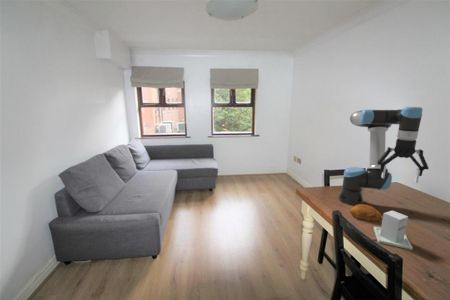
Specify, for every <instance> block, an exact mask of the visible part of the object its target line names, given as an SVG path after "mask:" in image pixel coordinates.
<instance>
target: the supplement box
mask: <svg viewBox="0 0 450 300" xmlns="http://www.w3.org/2000/svg"><path fill="white" fill-rule="evenodd" d="M408 220H409V216H408V215H405V214H403V213H401V212H397V211H395V210H390V211H386V212H383V215H382V221H381V227H380V228H381V231H380V236H382V237H384V238H386V239H388V240H390V241H392V242H394V243H396V242H398V241H401V240H404V236H405V235H406V230H407V225H408Z"/></svg>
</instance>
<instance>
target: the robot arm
mask: <svg viewBox="0 0 450 300" xmlns="http://www.w3.org/2000/svg"><path fill="white" fill-rule="evenodd" d="M422 116H423V107H421V106H404V107H402V108H401V109H362V110H358V111H354V112H353V113H352V114H351V115H350V118H349V121H350V123H352V124H353V125H354V126H356V127H360V128H367V131H368V132H369V165H368V167H366V169H364V168H362V167H358V166H353V167H352V166H351V167H350V166H349V167H347V168H346V169H344V171H343V178H342V188H341V190H340V192H339V194H338V198H339V199H340V200H341V201H340V200H339V199H338V200H339V201H340V202H341V203H344V204H346V203H347V205H350V204H351V206H355V205H358V204H364V196H363V192H362V191H363V189H369V190H379V191H386V190H388V189H389V188H390V187H391V184H392V179H393V175H392V173H391V172H389V170H388V168H387V165H388V164H390V162H392V161H393V160H394V159H396V158H404V159H409V158H410V159H411V161H412V163H414V164H415V166H417V168H416V170H415V174H414V179H413V181H414V183H416V184H418V182H419V178H420V177H421V176H423V172H424V170H429V166H428V162H427V160H426V157H424V150H422V149H421V148H420V149H416V146H417V140H418V136H419V135H418V134H419V129H420V127H421V126H420V125H421V122H422ZM392 125H398V129H397V135H396V141H395V146H394V147H390V146H387V148H386V132H387V131H389V128H391V127H392ZM393 151H394V153H393ZM390 153H393V154H391V155H390ZM415 153H416V154H417V155H418V157H419V160H420V162H421V163H419V161H418V160H417V159H416V157H414V154H415ZM389 155H390V156H389ZM388 156H389V157H388ZM421 164H422V165H421Z"/></svg>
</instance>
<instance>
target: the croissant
mask: <svg viewBox="0 0 450 300" xmlns="http://www.w3.org/2000/svg"><path fill="white" fill-rule="evenodd" d="M349 212H350V214H351V216H352V217H354V218H356V219H361V220H366V221H370V222H371V221H372V222H377V221H380V220H381V219H382V214H381V212H379V210H377V209H376V208H374V207H373V206H372V205H370V204H364V203H363V204H358V205H353V206H352V208H350V211H349Z"/></svg>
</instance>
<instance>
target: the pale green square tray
mask: <svg viewBox="0 0 450 300" xmlns="http://www.w3.org/2000/svg"><path fill="white" fill-rule="evenodd" d="M373 231H374V234H375V237H376V240H377V242H378V243H379V244H384V245H387V246H392V247H396V248H400V249H401V248H402V249H406V250H410V251H413V245H412V244H411V242H410V240H409V239H408V236H407V234H405V236H404V240H401V241H398V242H396V243H394V242H392V241H390V240H388V239H386V238H384V237H382V236H380V231H381V227H379V226H373Z"/></svg>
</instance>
